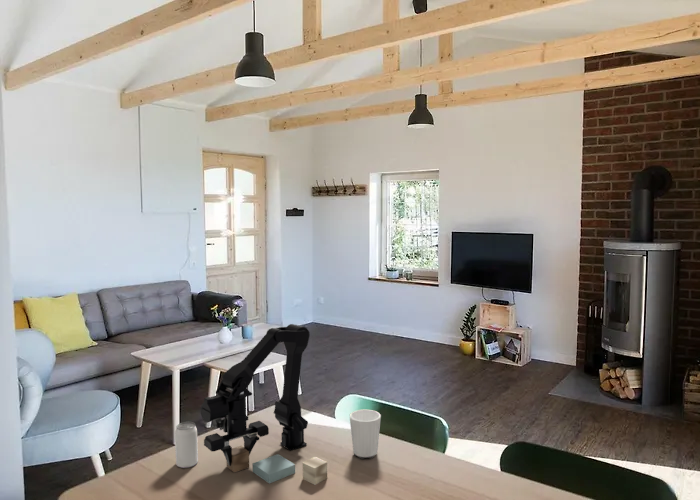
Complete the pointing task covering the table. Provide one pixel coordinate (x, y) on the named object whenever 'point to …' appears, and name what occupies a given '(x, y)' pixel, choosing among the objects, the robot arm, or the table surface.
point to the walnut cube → (239, 459)
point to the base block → (273, 468)
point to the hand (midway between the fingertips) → (237, 462)
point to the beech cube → (314, 470)
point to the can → (186, 445)
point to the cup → (365, 432)
